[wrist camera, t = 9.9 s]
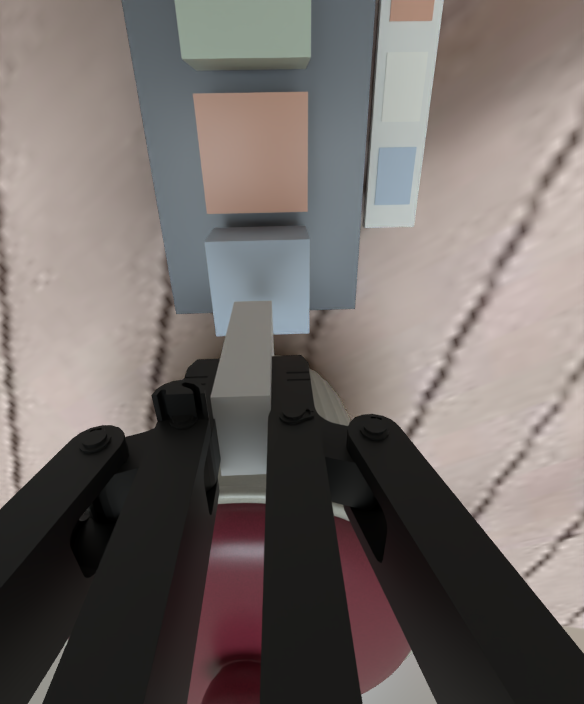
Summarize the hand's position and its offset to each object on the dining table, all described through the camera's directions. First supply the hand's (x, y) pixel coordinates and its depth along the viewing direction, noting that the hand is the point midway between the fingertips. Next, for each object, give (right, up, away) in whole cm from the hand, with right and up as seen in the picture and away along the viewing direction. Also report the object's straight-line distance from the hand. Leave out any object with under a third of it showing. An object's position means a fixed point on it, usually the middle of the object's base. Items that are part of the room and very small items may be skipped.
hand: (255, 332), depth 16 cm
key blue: (0, +4, +7) cm, 8 cm away
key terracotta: (0, +10, +5) cm, 11 cm away
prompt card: (+8, +14, +6) cm, 17 cm away
